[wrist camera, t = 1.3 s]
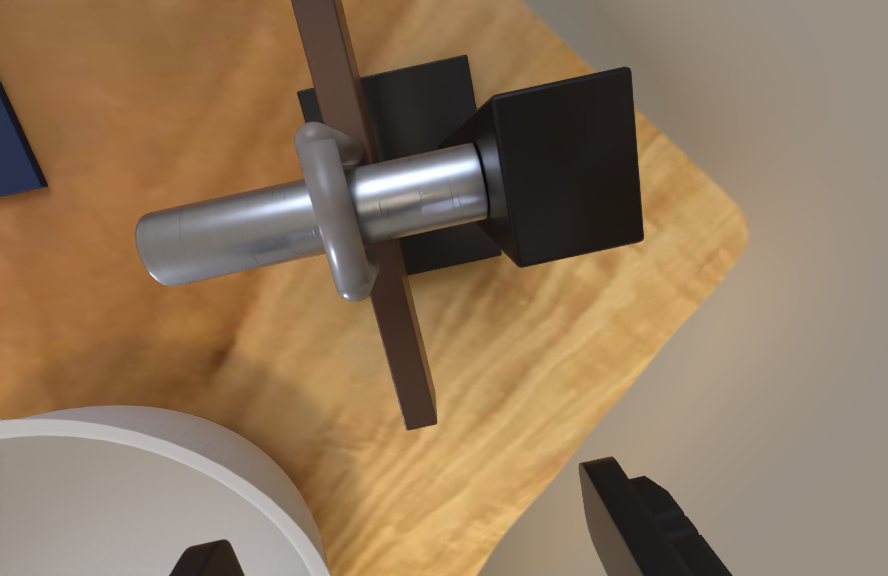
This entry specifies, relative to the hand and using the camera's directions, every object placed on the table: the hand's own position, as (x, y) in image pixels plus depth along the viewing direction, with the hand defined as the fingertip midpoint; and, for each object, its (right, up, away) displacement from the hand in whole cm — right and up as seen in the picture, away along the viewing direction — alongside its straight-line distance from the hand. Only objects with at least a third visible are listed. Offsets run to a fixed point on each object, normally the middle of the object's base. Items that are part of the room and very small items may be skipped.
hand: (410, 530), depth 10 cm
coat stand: (-2, +12, +18) cm, 22 cm away
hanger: (-2, +9, +6) cm, 11 cm away
